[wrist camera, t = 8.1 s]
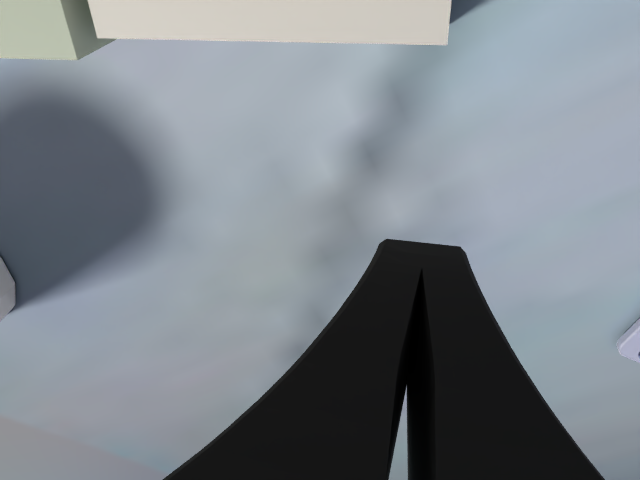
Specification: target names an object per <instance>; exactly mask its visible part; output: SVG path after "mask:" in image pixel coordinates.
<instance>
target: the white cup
mask: <svg viewBox="0 0 640 480" xmlns="http://www.w3.org/2000/svg"><path fill="white" fill-rule="evenodd" d="M14 306H15V282H14V280H13V278H12V276H11V274H10V272H9V270H8V269H7V267H6V265H5V263H4V261H3V260H2V258H1V257H0V322H1V321H2V319H3V318H4V317H5V316H6V315H7V314H8V313H9V312H10V311H11V309H12V308H13V307H14Z"/></svg>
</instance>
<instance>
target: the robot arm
mask: <svg viewBox="0 0 640 480" xmlns="http://www.w3.org/2000/svg"><path fill="white" fill-rule="evenodd" d="M617 348H618V350H619V352H620V354H621V355H622V356H624V357H626V358H629V359H631V360H634V361H637V362H639V363H640V319H639V320H638V321H636V322H635V323H634V324H633V325H632V326H631V327H630V328H629V329H628V330H627V331H626V332H625V333H624V334H623V335H622V336H621V337H620V338H619V340H618V341H617ZM406 385H407V443H408V480H605V479H604V478H603V477H602V476H601V474H600V473H599V472H598V471H597V469H596V468H595V467H594V466H593V464H592V463H591V462H590V461H589V459H588V458H587V457H586V456H585V454H584V453H583V452H582V451H581V449H580V448H579V447H578V445H577V444H576V443H575V441H574V440H573V439H572V437H571V436H570V435H569V433H568V432H567V431H566V429H565V428H564V427H563V425H562V424H561V423H560V421H559V420H558V418H557V417H556V416H555V414H554V413H553V411H552V410H551V409H550V407H549V406H548V404H547V403H546V401H545V400H544V398H543V397H542V395H541V394H540V393H539V391H538V390H537V388H536V386H535V385H534V383H533V382H532V380H531V379H530V377H529V376H528V374H527V372H526V371H525V369H524V368H523V366H522V365H521V363H520V361H519V360H518V358H517V356H516V355H515V353H514V351H513V350H512V348H511V346H510V345H509V343H508V341H507V339H506V337H505V336H504V334H503V332H502V330H501V328H500V327H499V325H498V323H497V321H496V319H495V318H494V316H493V314H492V312H491V310H490V308H489V306H488V304H487V302H486V300H485V298H484V296H483V294H482V292H481V290H480V288H479V285H478V283H477V281H476V279H475V276H474V274H473V272H472V269H471V267H470V264H469V261H468V258H467V255H466V253H465V252H464V251H463V249H462V248H461V247H459V246H449V245H440V244H430V243H421V242H411V241H402V240H392V239H386V240H384V241H383V242H381V243H380V244H379V246H378V248H377V251H376V253H375V255H374V257H373V259H372V261H371V263H370V264H369V266H368V268H367V269H366V271H365V273H364V274H363V276H362V277H361V279H360V281H359V282H358V284H357V285H356V287H355V288H354V290H353V291H352V292H351V294H350V295H349V297H348V298H347V299H346V301H345V302H344V304H343V305H342V306H341V308H340V309H339V311H338V312H337V313H336V315H335V316H334V317H333V319H332V320H331V321H330V322H329V323H328V325H327V326H326V327H325V328H324V329H323V331H322V332H321V333H320V334H319V335H318V337H317V338H316V339H315V340H314V341H313V343H312V344H311V345H310V346H309V347H308V349H307V350H306V351H305V352H304V353H303V354H302V356H301V357H300V358H299V359H298V360H297V361H296V362H295V363H294V364H293V365H292V366H291V368H290V369H289V370H288V371H287V372H286V373H285V374H284V375H283V376H282V377H281V378H280V379H279V380H278V381H277V382H276V383H275V384H274V385H273V386H272V387H271V388H270V389H269V390H268V391H267V392H266V393H265V394H264V395H263V396H262V397H261V398H260V399H259V400H258V401H257V402H255V403H254V404H253V405H252V406H251V407H250V408H249V409H248V410H247V411H245V412H244V413H243V414H242V415H241V416H240V417H239V418H238V419H237V420H236V421H234V422H233V423H232V424H231V425H230V426H229V427H228V428H227V429H226V430H224V431H223V432H222V433H221V434H220V435H219V436H217V437H216V438H215V439H214V440H213V441H211V442H210V443H209V444H208V445H207V446H205V447H204V448H203V449H202V450H201V451H199V452H198V453H197V454H195V455H194V456H193V457H192V458H190V459H189V460H188V461H186V462H185V463H184V464H182V465H181V466H180V467H179V468H177V469H176V470H175V471H173V472H172V473H171V474H169V475H168V476H167V477H165V478H164V479H163V480H388V479H389V473H390V468H391V463H392V458H393V453H394V447H395V442H396V437H397V432H398V427H399V422H400V416H401V411H402V406H403V401H404V396H405V390H406Z"/></svg>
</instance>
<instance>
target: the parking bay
mask: <svg viewBox="0 0 640 480" xmlns="http://www.w3.org/2000/svg"><path fill="white" fill-rule="evenodd" d="M451 1H452V0H0V58H15V59H51V60H79V59H81V58H83V57H84V56H86V55H88V54H90V53H92V52H94V51H96V50H98V49H99V48H101V47H103V46H105V45H107V44H109V43H111V42H112V41H114V40H116V39H160V40H211V41H262V42H313V43H365V44H416V45H447V41H448V31H449V21H450V11H451Z"/></svg>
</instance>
